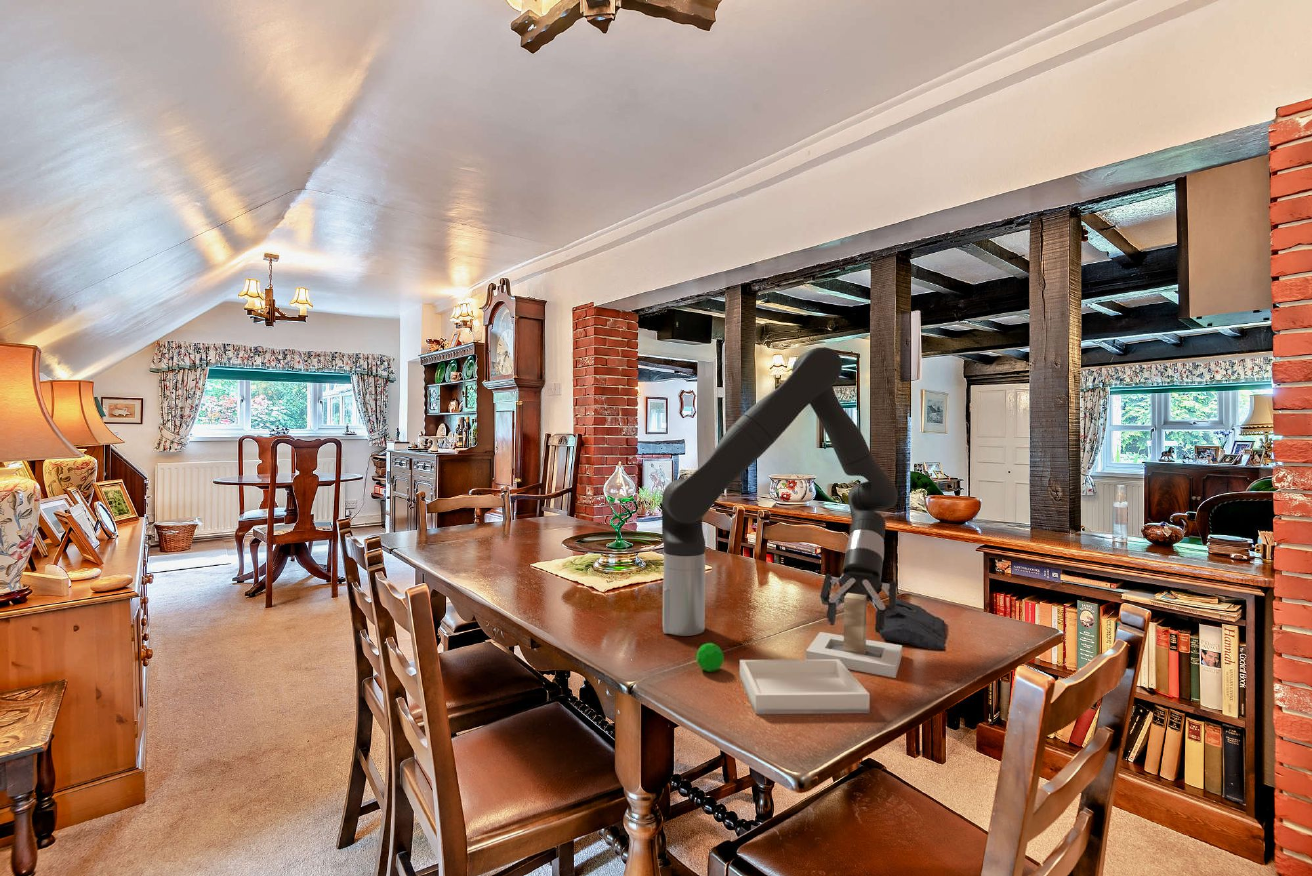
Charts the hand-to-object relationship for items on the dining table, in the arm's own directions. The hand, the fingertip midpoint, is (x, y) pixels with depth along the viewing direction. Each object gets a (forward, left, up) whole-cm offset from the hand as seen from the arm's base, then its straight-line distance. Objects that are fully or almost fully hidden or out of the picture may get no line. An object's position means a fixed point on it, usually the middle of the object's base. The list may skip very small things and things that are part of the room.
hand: (854, 627), depth 113 cm
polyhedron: (-29, -4, -7) cm, 30 cm away
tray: (-15, -14, -6) cm, 21 cm away
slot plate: (0, +1, -6) cm, 6 cm away
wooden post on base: (0, +1, -6) cm, 7 cm away
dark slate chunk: (+19, +16, -7) cm, 26 cm away
